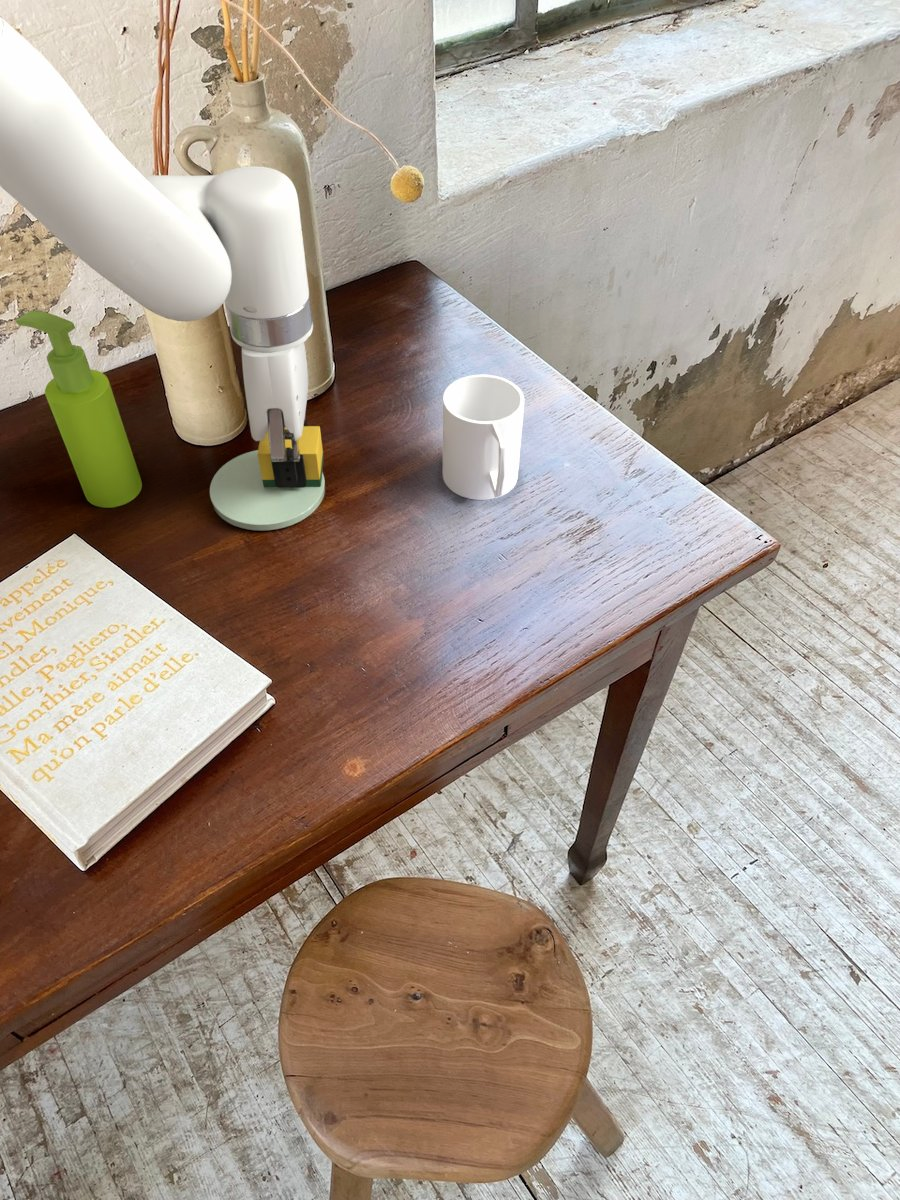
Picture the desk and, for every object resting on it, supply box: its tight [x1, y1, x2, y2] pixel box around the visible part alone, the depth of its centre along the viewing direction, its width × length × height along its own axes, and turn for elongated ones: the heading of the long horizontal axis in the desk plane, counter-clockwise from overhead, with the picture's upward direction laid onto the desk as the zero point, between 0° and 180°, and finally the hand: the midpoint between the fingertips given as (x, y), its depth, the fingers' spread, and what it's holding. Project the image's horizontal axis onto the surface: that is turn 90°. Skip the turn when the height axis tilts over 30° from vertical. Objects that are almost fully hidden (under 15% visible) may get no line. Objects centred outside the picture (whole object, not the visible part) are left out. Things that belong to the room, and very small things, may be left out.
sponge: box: [257, 425, 325, 487], centre depth 95 cm, size 6×4×4 cm
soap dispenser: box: [14, 310, 143, 509], centre depth 89 cm, size 6×7×20 cm
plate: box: [209, 449, 326, 532], centre depth 95 cm, size 12×12×1 cm
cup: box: [442, 373, 525, 501], centre depth 93 cm, size 8×12×10 cm
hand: (293, 467), depth 96 cm, fingers closed on sponge, 4 cm apart
